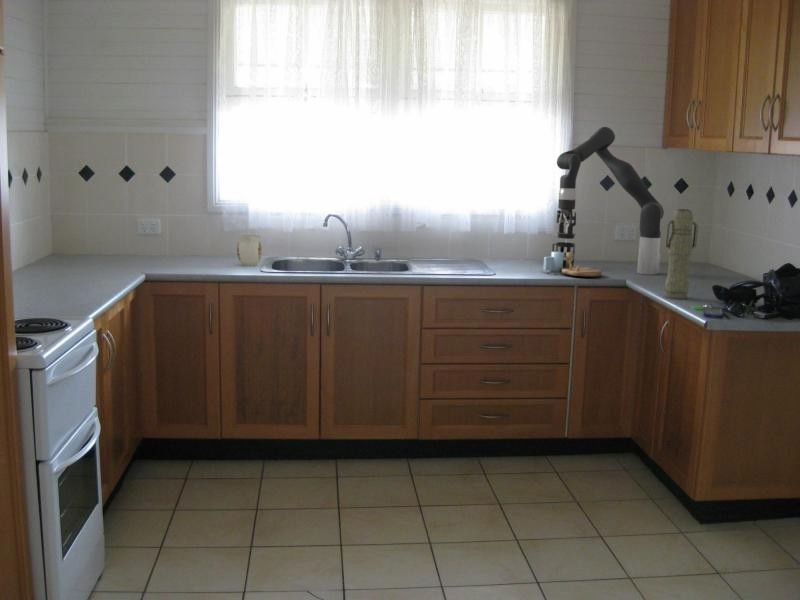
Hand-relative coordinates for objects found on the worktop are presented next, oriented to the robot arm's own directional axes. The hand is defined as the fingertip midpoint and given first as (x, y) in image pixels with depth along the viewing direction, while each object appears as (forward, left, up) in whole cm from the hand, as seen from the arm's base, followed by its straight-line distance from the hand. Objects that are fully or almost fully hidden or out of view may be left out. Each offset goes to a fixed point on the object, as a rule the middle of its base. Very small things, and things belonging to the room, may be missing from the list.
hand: (565, 234), depth 398 cm
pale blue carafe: (+3, -3, -18) cm, 18 cm away
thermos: (-8, +64, -19) cm, 67 cm away
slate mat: (+2, -3, -18) cm, 19 cm away
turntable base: (-5, +7, -18) cm, 20 cm away
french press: (-11, -15, -19) cm, 27 cm away
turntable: (-5, +6, -17) cm, 19 cm away
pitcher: (+130, -62, -19) cm, 145 cm away
